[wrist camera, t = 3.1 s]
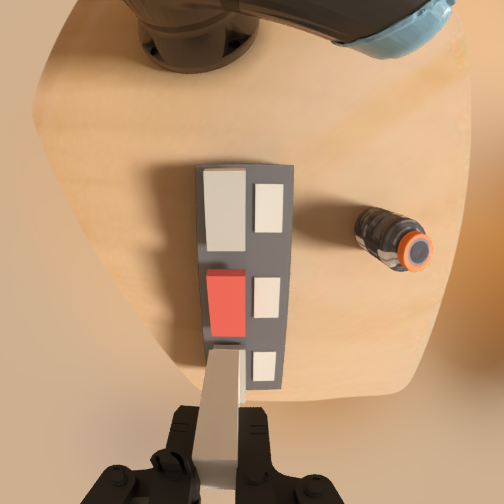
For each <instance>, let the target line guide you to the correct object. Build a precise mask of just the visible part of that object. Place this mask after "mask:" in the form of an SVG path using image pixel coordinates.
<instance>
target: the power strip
mask: <svg viewBox="0 0 504 504" xmlns="http://www.w3.org/2000/svg"><path fill="white" fill-rule="evenodd" d="M214 168H246V200H245V251H207V241H206V223H205V202H204V175H203V171H204V170H205V169H214ZM195 179H196V225H197V250H198V269H199V286H200V301H201V314H202V326H203V338H204V348H205V358H206V366H207V360H208V354H209V350H213V347H214V345H245V353H246V390H268V389H281V384H282V374H283V363H284V352H285V340H286V327H287V313H288V298H289V282H290V264H291V244H292V220H293V187H294V165H273V164H211V165H195ZM208 269H245V337H222V336H212V333H211V324H210V313H209V303H208V291H207V279H206V275H207V271H208Z"/></svg>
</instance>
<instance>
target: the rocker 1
mask: <svg viewBox="0 0 504 504" xmlns="http://www.w3.org/2000/svg"><path fill="white" fill-rule="evenodd" d="M203 175H204V202H205V223H206V241H207V251H245V200H246V168H214V169H205V170H204V171H203Z"/></svg>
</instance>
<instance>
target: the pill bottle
mask: <svg viewBox="0 0 504 504" xmlns="http://www.w3.org/2000/svg"><path fill="white" fill-rule="evenodd" d="M355 237H356V240H357V242H358V244H359V245H360V246H361V247H362V248H363V249H364V250H366V251H367V252H369V253H370V254H372V255H373V256H374V257H376V258H377V259H378V260H380V261H381V262H383V263H384V264H385V265H387V266H388V267H389V268H391V269H393V270H395V271H399V272H403V271H408V270H409V271H412V272H418V271H421V270H423V269H424V268H425V267H426V266H427V265H428V264H429V262H430V261H431V258H432V255H433V244H432V241H431V239H430V238H429V237H428V236H427V235H426V234H425V231H424V229H423V228H422V226H421V225H420V224H419V223H418V222H417V221H415V220H413V219H410V218H408V217H405V216H403V215H400V214H397V213H394V212H390V211H387V210H384V209H381V208H370V209H368V210H366V211H364V212H363V213H362V214H361V215H360V216H359V218H358V220H357V222H356V225H355Z"/></svg>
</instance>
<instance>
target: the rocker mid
mask: <svg viewBox="0 0 504 504" xmlns="http://www.w3.org/2000/svg"><path fill="white" fill-rule="evenodd" d="M206 279H207V291H208V303H209V313H210V324H211V333H212V336H222V337H245V269H208V271H207V275H206Z"/></svg>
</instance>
